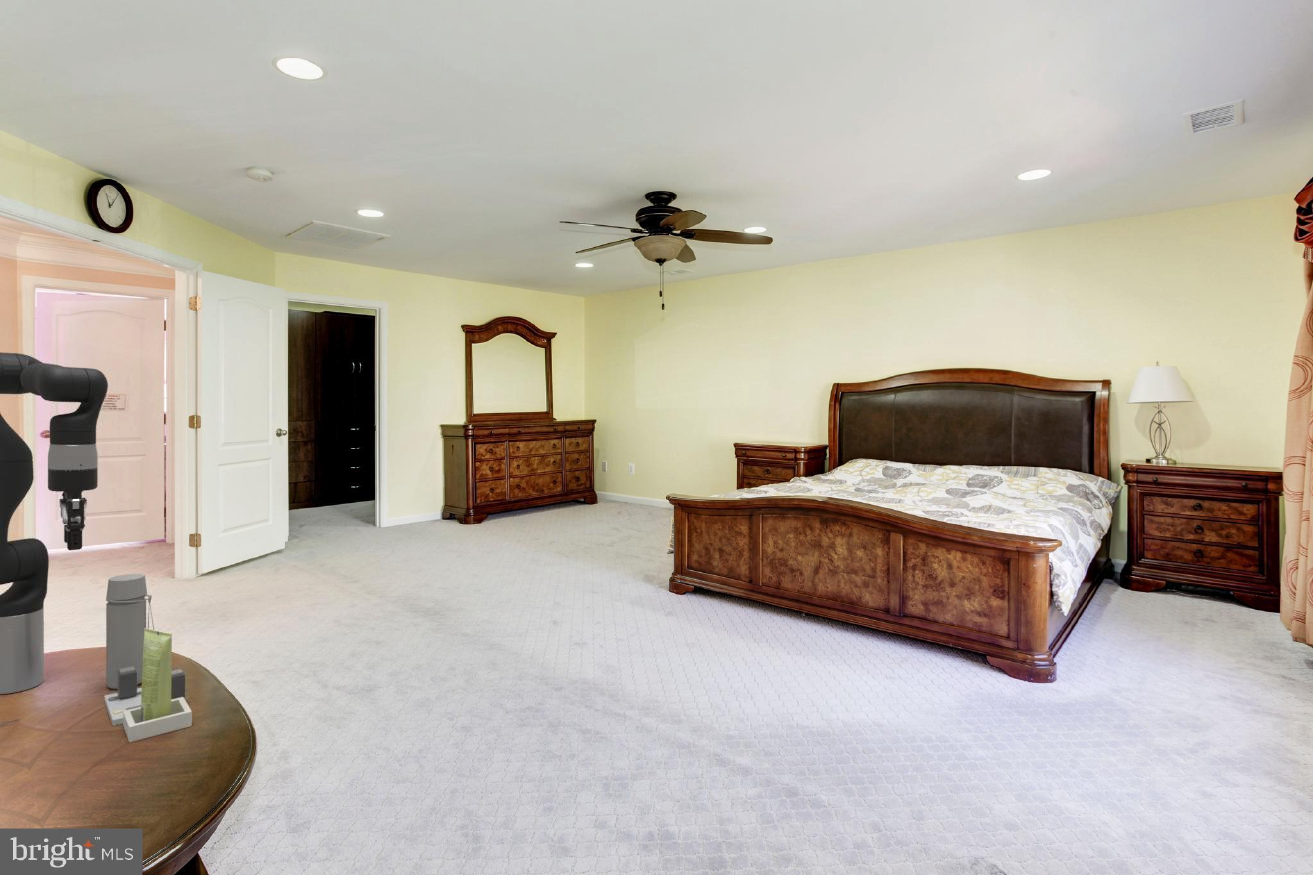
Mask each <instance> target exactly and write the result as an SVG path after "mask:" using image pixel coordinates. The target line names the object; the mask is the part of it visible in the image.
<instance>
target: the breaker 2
mask: <svg viewBox="0 0 1313 875" xmlns="http://www.w3.org/2000/svg"><path fill="white" fill-rule="evenodd" d="M181 697H184V699H185V698H186V674H185V672H184V671H183V669H182V668H178V669H174V670H173V669H172V670H171V700H172V699H176V698H181Z"/></svg>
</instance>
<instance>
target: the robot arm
mask: <svg viewBox="0 0 1313 875" xmlns="http://www.w3.org/2000/svg"><path fill="white" fill-rule="evenodd" d="M108 383H109V382H108V380H107V377H106V376H105V373H103V372H102V371H101V370H99V369H96V368H92V367H91V368H90V367H89V368H88V367H75V366H74V367H72V366H71V367H70V366H63V365H59V364H53V363H47V362H46V363H45V362H42V361H40V360H39V359H37V358H35V357H34V356H31V355H27V354H24V353H17V352H0V395H25V394H32V395H35V396H38V397H39V396H40V397H41V398H42V399H43V400H44V401H47V402H54V403H80V404H79V406H78V407H77V408H76V410H75V411H72V412H69V413H62V414H57V415H54V416H52V417H51V418H50V420H49V448H48V453H47V489H48V490H49V491H51V492H56V493H59V492H61V493H62V494H61V497H62V498H59V508H60V517H61V519H62V522H61V523H63V540H64V543H65V544H66V548H67V550H68V551H75V550H76V551H78V550H82V548H83V531H84V529H85V527H86V523H85V521H86V519H87V518H86V517H87V511H86V508H87V506H88V501H87V500H88V499H86V497H83V495H82V493H83V492H84V491H91V490H92V491H93V490H95V489H97V488H98V486H99V484H98V481H99V478H98V472H99V471H98V470H99V466H98V463H99V462H98V460H99V459H98V449H97V423H98V420H99V416H100V413H101V412H100V411H101V409H102V407H103V403H104V400H105V399H106V396H107V392H108V391H109V390H108V389H109V388H108V387H109V384H108ZM33 483H34V458H33V451H32V450H31V448H30V447H29V445H28V443H27V442H26V441H25V440H24V439H23V438H22V437H21V436H20V435H19V434H18V433H17V432H16V431H15V430H14V429H13V427H12V426H10V424H9V423H8V422H7V421H6V420H5V418H4V416H3V415H2V414H1V412H0V586H1V585H6V584H7V585H8V584H11V583H12V584H11V585H10V586H9V587H8V589H6V590H5V591H4V592H3V593H1V594H0V695H5V694H12V693H14V694H15V693H19V692H23V691H26V690H31V689H33V688H35V687H37V686H39V685H41V684H43V683H44V681H45V670H44V669H45V666H44V664H45V634H44V633H45V627H44V626H45V621H44V613H45V612H44V609H45V608H44V605H45V604H44V602H45V599H46V597H47V593H48V577H49V568H50V567H49V566H50V565H49V564H50V562H49V561H50V558H49V551H48V549H47V546H46V545H45V544H44V542H43V541H42V540H40V539H38V538H35V537H32V538H31V537H29V538H20V539H16V540H9V539H8V538H9V537H8V536H9V534H8V533H9V528H10V527H9V526H10V522H11V519H12V517H13V515H14V513H15V512H16V511H17V510H18V507H19V506H20V505H21V503H22V502H23V501H24V499H25V497H26V496H27V494H28V493H29V491H30V489H31V488H32V485H33ZM8 540H9V541H8Z"/></svg>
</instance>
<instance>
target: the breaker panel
mask: <svg viewBox="0 0 1313 875" xmlns="http://www.w3.org/2000/svg"><path fill="white" fill-rule="evenodd" d="M141 694H142V687H137V695H134V696H130V697H125V698H121V699H119V697H118V694H117V692H115V693H110V694H105V695H104V704H105V708H106V709H107V710H106V711H107V712H108V716H109V719H110V721H111V725H112V726H113V727H114V726H118V725H119V726H120V725H123V711H125V710H129V709H134V708H138V707H141Z"/></svg>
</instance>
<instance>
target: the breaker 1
mask: <svg viewBox="0 0 1313 875" xmlns="http://www.w3.org/2000/svg"><path fill="white" fill-rule="evenodd" d="M137 688H138V685H137V671H136V669H135V668H134V666H132V667H127V668H122V669H119V671H118V672H117V689H116V691H117V692H116V693H117V694H118V697H119V699H121V698H125V697H130V696H134V695H137Z"/></svg>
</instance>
